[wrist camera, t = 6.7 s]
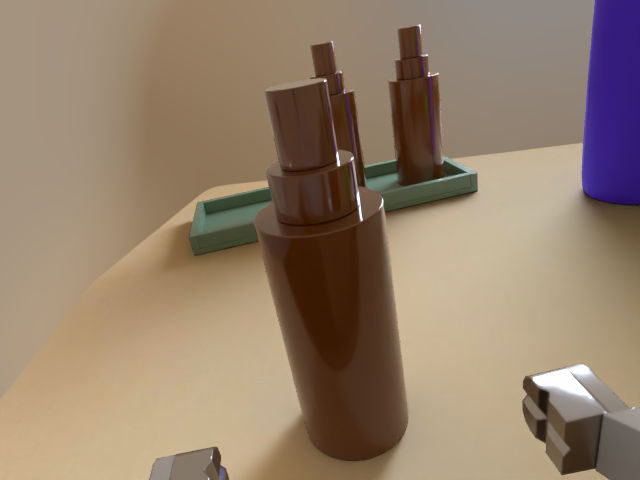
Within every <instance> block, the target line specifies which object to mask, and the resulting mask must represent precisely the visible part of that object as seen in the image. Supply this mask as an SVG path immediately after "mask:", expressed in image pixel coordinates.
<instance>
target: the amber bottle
mask: <svg viewBox="0 0 640 480" xmlns="http://www.w3.org/2000/svg"><path fill="white" fill-rule="evenodd" d="M264 94H265V99H266V104H267V109H268V113H269V118H270V123H271V127H272V132H273V136H274V141H275V146H276V150H277V155H278V160H279V161H277V162H275V163H273V164H272V165H270V166H269V167H268V168H267V170H266V176H267V180H268V185H269V189H270V193H271V198H272V203H270V204H269V205H267V206H266V207H264V208H263V209H262V210H260V211H259V212H258V214H257V215H256V217H255V219H254V226H255V230H256V234H257V238H258V242H259V246H260V250H261V254H262V258H263V261H264V265H265V269H266V273H267V277H268V281H269V285H270V289H271V293H272V297H273V301H274V305H275V309H276V313H277V317H278V321H279V325H280V329H281V333H282V337H283V341H284V344H285V348H286V352H287V356H288V360H289V364H290V368H291V372H292V376H293V380H294V384H295V388H296V392H297V396H298V400H299V404H300V408H301V412H302V416H303V420H304V423H305V427H306V431H307V434H308V436H309V439H310V440H311V442H312V443H313V444H314V445H315V446H316V447H317V448H318V449H319V450H320V451H322V452H323V453H325V454H327V455H329V456H331V457H334V458H337V459H341V460H364V459H369V458H372V457H375V456H378V455H380V454H382V453H384V452H386V451H387V450H389V449H390V448H391V447H392V446H394V445H395V444H396V443H397V442H398V441H399V439H400V438H401V437H402V435H403V433H404V431H405V429H406V427H407V423H408V406H407V398H406V389H405V380H404V372H403V363H402V355H401V346H400V337H399V329H398V320H397V312H396V303H395V295H394V286H393V277H392V269H391V260H390V252H389V243H388V235H387V226H386V217H385V209H384V201H383V198H382V196H381V195H380V194H379V193H378V192H376V191H374V190H372V189H369V188H365V187H359V186H358V181H357V174H356V167H355V160H354V155H353V154H352V153H351V152H348V151H344V150H338V148H337V142H336V135H335V129H334V122H333V116H332V109H331V103H330V97H329V90H328V84H327V79H325V78H317V79H309V80H302V81H297V82H291V83H287V84H282V85H278V86H274V87H270V88H268V89H266V90H265V91H264Z"/></svg>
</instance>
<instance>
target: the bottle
mask: <svg viewBox="0 0 640 480" xmlns="http://www.w3.org/2000/svg"><path fill="white" fill-rule="evenodd" d="M582 186H583V189H584V191H585V192H586V194H587V195H589V196H590V197H592V198H595V199H597V200H601V201H605V202H610V203H617V204H630V205H639V204H640V0H595V6H594V16H593V27H592V39H591V50H590V62H589V73H588V86H587V99H586V112H585V127H584V142H583V157H582Z"/></svg>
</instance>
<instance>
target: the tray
mask: <svg viewBox="0 0 640 480" xmlns="http://www.w3.org/2000/svg"><path fill="white" fill-rule="evenodd" d="M443 164H444V178H441V179H436V180H432V181H427V182H423V183H418V184H414V185H410V186H405V187H404V186H401V185H399V184H398V178H397V168H396V159H394V160H390V161H386V162H381V163H376V164H372V165H367V166H365V172H366V180H367V188H369V189H372V190H374V191H376V192H378V193H379V194H380V195H381V196H382V198H383V201H384V209H385V212H386V211H390V210H395V209H399V208H404V207H408V206H412V205H417V204H421V203H425V202H430V201H434V200H438V199H443V198H447V197H452V196H456V195H460V194H465V193H469V192H473V191H477V190H478V186H477V172H475V171H473V170H471V169H469V168H467V167H465V166H463V165H461V164H459V163H457V162H455V161H453V160H451V159H449V158H447V157H445V156H443ZM270 203H272V198H271V193H270V189H269V187H266V188H262V189H257V190H252V191H248V192H243V193H239V194H234V195H229V196H225V197H220V198H216V199H211V200H207V201H202V202H197V206H196V210H195V214H194V218H193V223H192V227H191V231H190V235H189V240H190V243H191V246H192V249H193V252H194V255H198V254H203V253H207V252H211V251H216V250H220V249H224V248H229V247H233V246H237V245H242V244H246V243H251V242H255V241H258V238H257V234H256V230H255V226H254V219H255V217H256V215H257V214H258V212H259V211H260V210H262V209H263V208H264V207H266V206H267V205H269V204H270Z"/></svg>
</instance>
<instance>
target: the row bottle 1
mask: <svg viewBox="0 0 640 480" xmlns="http://www.w3.org/2000/svg"><path fill="white" fill-rule="evenodd" d="M310 47H311V53H312V59H313V65H314V72H315V75H314V76H311V77H310V79H317V78H325V79H327V84H328V90H329V97H330V103H331V109H332V116H333V122H334V129H335V135H336V142H337V148H338V150H344V151H348V152H351V153H352V154H353V155H354V160H355V167H356V174H357V181H358V186H359V187H365V188H367V180H366V172H365V165H364V157H363V150H362V142H361V134H360V127H359V120H358V112H357V104H356V96H355V89H353V88H345V81H344V74H343V71H337V65H336V58H335V51H334V44H333V42H326V43H320V44H315V45H311V46H310Z"/></svg>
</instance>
